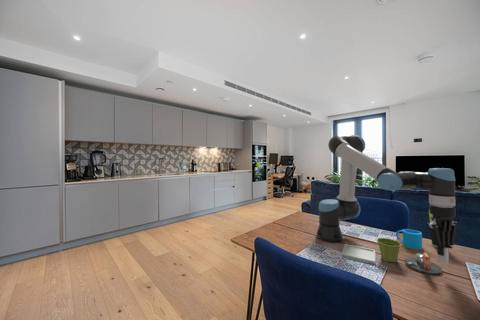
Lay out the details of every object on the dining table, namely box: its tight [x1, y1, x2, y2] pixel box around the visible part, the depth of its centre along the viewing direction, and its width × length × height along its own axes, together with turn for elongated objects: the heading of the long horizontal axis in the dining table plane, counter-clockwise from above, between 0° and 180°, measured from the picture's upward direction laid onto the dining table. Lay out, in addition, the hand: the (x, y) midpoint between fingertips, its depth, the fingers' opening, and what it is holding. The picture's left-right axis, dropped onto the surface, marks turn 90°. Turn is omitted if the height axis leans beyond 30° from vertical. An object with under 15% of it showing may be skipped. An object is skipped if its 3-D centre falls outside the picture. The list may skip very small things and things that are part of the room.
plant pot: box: [376, 237, 402, 263], centre depth 94 cm, size 9×9×9 cm
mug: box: [395, 228, 423, 250], centre depth 109 cm, size 12×8×8 cm
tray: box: [341, 243, 376, 265], centre depth 99 cm, size 14×14×1 cm
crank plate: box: [404, 257, 443, 276], centre depth 87 cm, size 12×12×1 cm
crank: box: [415, 252, 431, 271], centre depth 84 cm, size 12×4×7 cm, turn 145°
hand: (443, 262), depth 79 cm, fingers closed
